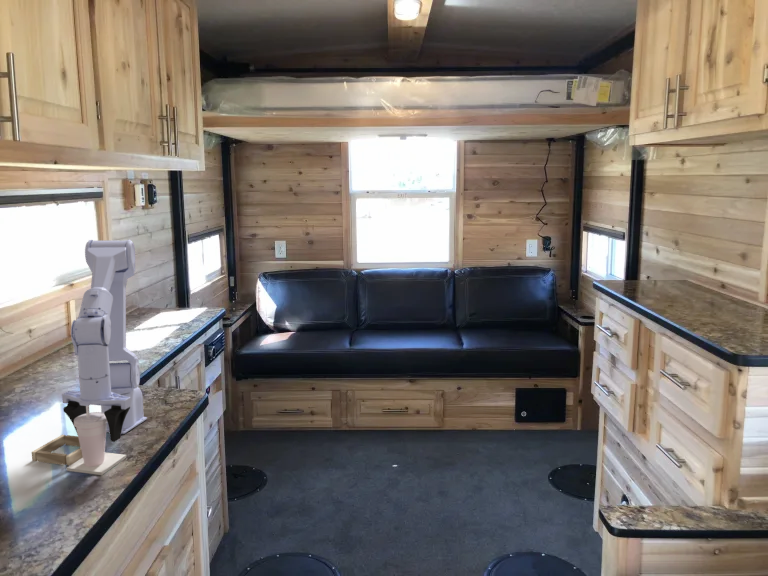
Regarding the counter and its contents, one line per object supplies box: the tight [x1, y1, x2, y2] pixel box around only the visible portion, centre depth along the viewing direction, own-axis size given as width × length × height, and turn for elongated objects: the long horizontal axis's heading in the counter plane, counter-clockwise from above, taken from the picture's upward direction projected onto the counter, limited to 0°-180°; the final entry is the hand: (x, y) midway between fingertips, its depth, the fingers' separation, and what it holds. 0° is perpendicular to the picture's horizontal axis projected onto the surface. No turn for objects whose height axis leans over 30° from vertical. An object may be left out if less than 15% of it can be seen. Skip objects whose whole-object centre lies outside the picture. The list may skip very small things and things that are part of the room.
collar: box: [31, 434, 83, 467], centre depth 131 cm, size 9×9×2 cm
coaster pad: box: [66, 451, 127, 476], centre depth 127 cm, size 8×8×1 cm
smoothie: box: [73, 405, 107, 467], centre depth 125 cm, size 6×6×14 cm
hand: (99, 438), depth 127 cm, fingers open, 7 cm apart
